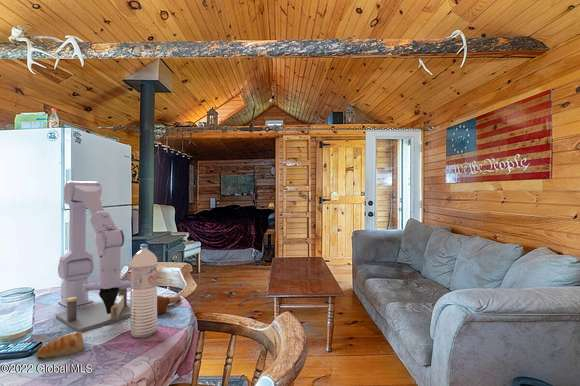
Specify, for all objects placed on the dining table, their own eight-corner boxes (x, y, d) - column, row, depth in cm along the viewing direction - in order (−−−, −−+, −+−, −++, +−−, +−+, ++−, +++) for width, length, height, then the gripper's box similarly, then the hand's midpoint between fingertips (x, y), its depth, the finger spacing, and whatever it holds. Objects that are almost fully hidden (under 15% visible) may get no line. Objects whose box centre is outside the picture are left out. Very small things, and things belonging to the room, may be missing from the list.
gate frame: (55, 317, 100) (55, 294, 100) (117, 301, 116) (117, 280, 116) (79, 332, 90) (79, 306, 90) (144, 312, 105) (144, 289, 105)
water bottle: (139, 341, 85) (140, 247, 85) (125, 335, 89) (125, 245, 88) (162, 331, 91) (162, 243, 91) (147, 326, 94) (147, 241, 94)
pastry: (38, 364, 74) (38, 347, 74) (36, 353, 79) (36, 338, 79) (86, 350, 80) (86, 335, 80) (80, 341, 85) (80, 327, 85)
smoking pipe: (142, 317, 102) (142, 298, 102) (164, 297, 120) (165, 282, 120) (164, 317, 102) (164, 299, 102) (183, 298, 120) (183, 282, 120)
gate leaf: (118, 306, 107) (118, 295, 107) (124, 305, 107) (124, 295, 107) (110, 320, 95) (110, 308, 95) (117, 319, 96) (117, 307, 96)
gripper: (78, 273, 93) (78, 320, 93) (133, 270, 97) (133, 314, 97) (86, 267, 99) (86, 311, 99) (137, 265, 103) (137, 306, 103)
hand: (109, 312), depth 99 cm, fingers closed
